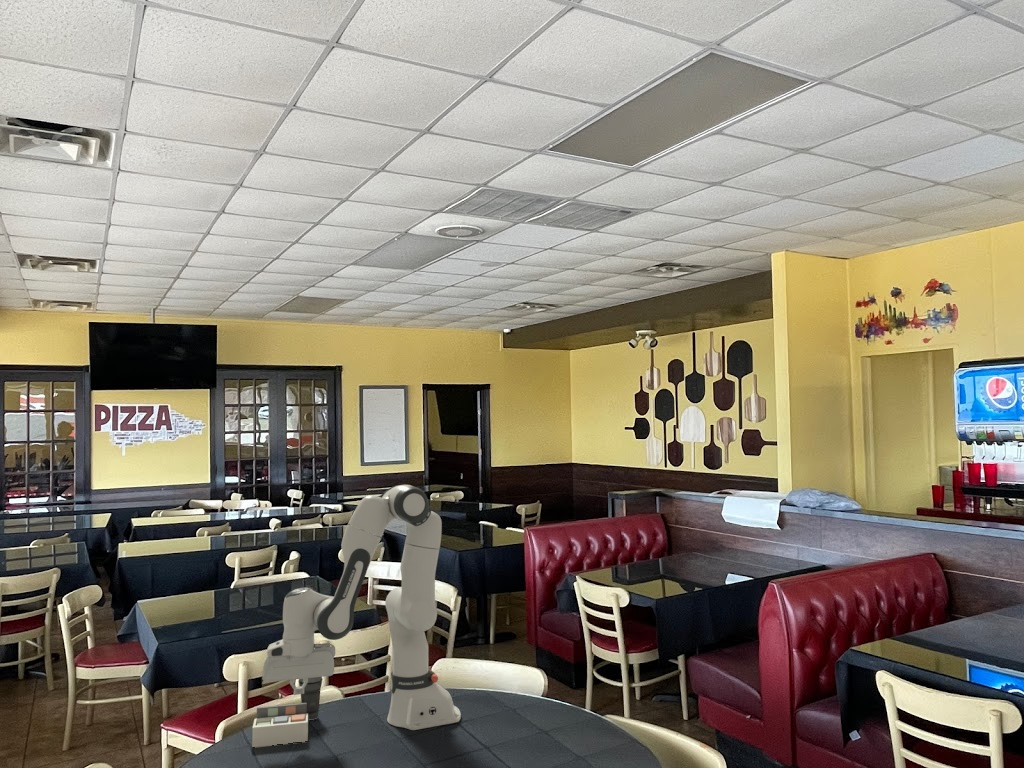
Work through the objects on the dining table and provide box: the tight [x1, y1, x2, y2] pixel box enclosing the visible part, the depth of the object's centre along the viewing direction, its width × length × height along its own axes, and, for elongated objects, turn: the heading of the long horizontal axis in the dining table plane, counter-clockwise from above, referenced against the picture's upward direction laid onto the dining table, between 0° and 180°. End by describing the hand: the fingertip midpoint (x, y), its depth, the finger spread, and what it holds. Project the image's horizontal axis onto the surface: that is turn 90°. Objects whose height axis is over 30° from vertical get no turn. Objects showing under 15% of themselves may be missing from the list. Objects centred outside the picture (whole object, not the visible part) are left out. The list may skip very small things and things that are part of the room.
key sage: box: [257, 722, 270, 725], centre depth 218 cm, size 4×4×2 cm
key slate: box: [274, 716, 288, 724], centre depth 219 cm, size 4×4×2 cm
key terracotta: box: [292, 714, 305, 722], centre depth 220 cm, size 4×4×2 cm
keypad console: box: [251, 702, 309, 748], centre depth 220 cm, size 15×9×8 cm, turn 104°
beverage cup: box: [298, 677, 323, 720], centre depth 236 cm, size 7×7×20 cm
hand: (299, 693), depth 221 cm, fingers closed
